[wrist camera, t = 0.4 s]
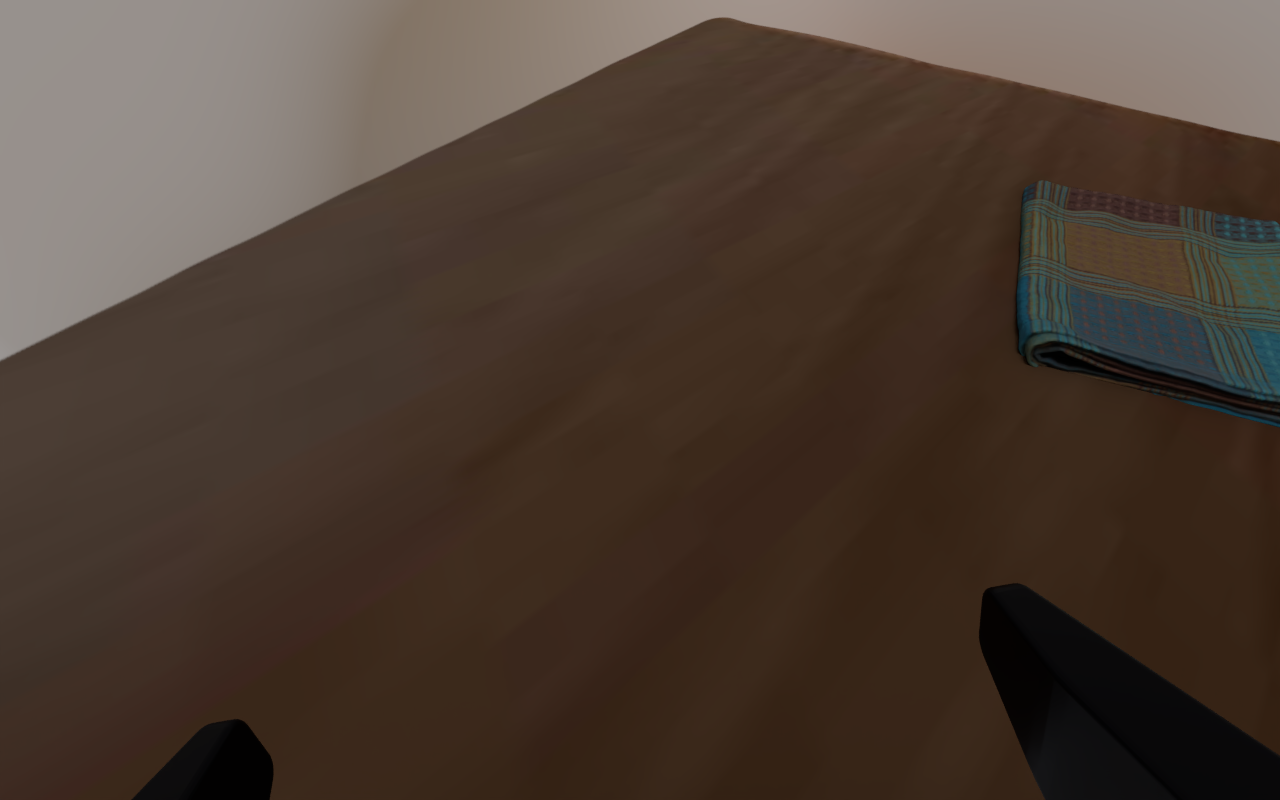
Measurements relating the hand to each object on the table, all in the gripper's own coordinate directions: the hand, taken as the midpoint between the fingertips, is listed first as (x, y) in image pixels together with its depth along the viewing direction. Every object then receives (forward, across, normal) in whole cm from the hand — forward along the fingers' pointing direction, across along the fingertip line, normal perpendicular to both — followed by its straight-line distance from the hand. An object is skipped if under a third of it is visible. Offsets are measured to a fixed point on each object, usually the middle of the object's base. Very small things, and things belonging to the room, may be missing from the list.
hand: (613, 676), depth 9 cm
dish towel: (+36, -33, +18) cm, 52 cm away
